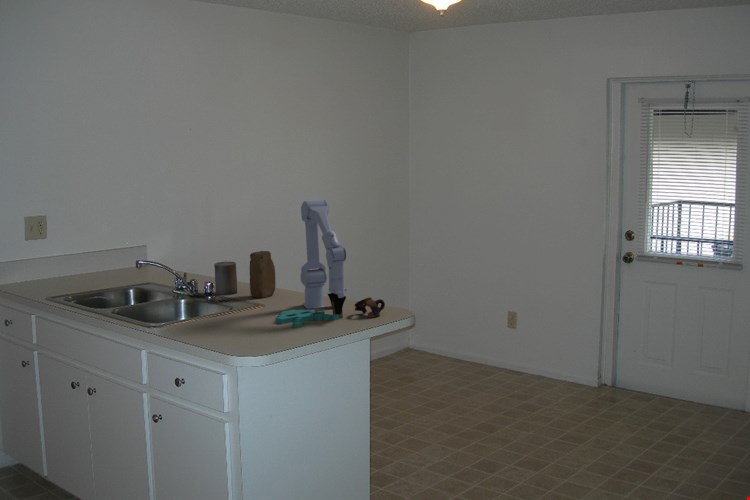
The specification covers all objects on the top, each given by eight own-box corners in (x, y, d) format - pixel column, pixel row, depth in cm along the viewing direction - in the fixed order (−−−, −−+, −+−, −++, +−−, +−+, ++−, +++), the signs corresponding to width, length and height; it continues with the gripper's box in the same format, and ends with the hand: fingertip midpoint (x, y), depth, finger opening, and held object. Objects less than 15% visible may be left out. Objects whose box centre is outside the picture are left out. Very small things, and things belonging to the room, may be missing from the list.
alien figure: (338, 320, 296) (307, 312, 311) (338, 314, 296) (307, 306, 311) (296, 329, 283) (265, 320, 298) (296, 323, 283) (265, 314, 298)
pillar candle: (238, 290, 356) (236, 258, 354) (236, 294, 346) (235, 261, 344) (216, 291, 355) (214, 259, 353) (214, 295, 345) (212, 262, 343)
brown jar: (259, 299, 336) (258, 253, 333) (248, 297, 340) (246, 252, 338) (278, 295, 344) (276, 250, 341) (266, 293, 349) (265, 249, 346)
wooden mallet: (314, 318, 300) (313, 303, 299) (340, 315, 302) (339, 300, 302) (316, 320, 296) (315, 305, 295) (342, 317, 299) (341, 302, 298)
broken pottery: (363, 321, 295) (355, 301, 297) (358, 326, 304) (349, 307, 306) (391, 310, 300) (382, 291, 301) (385, 316, 308) (376, 297, 310)
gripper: (351, 280, 292) (351, 315, 294) (342, 274, 306) (342, 308, 308) (332, 281, 290) (333, 317, 292) (324, 275, 304) (325, 309, 306)
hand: (337, 312), depth 300 cm, fingers closed on wooden mallet, 4 cm apart
